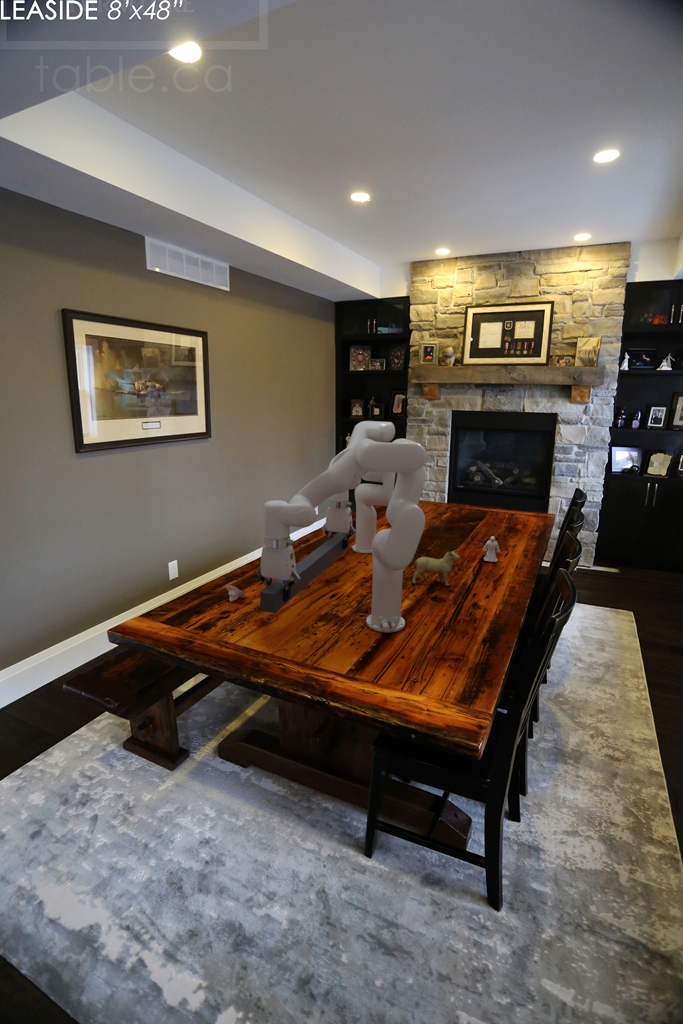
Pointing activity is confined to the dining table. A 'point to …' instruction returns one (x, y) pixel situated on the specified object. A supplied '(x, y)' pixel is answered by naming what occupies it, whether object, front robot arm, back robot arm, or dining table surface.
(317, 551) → the post
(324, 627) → the dining table surface
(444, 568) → the toy
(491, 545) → the figurine
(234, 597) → the white irregular piece
